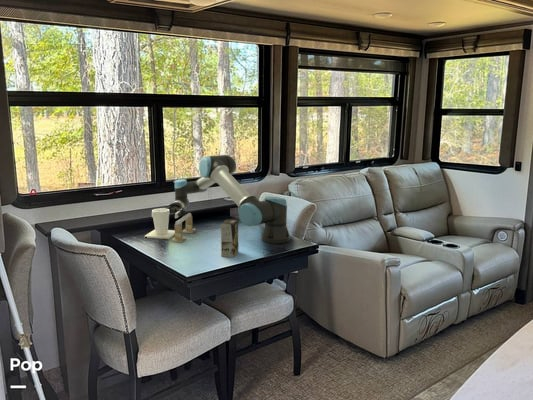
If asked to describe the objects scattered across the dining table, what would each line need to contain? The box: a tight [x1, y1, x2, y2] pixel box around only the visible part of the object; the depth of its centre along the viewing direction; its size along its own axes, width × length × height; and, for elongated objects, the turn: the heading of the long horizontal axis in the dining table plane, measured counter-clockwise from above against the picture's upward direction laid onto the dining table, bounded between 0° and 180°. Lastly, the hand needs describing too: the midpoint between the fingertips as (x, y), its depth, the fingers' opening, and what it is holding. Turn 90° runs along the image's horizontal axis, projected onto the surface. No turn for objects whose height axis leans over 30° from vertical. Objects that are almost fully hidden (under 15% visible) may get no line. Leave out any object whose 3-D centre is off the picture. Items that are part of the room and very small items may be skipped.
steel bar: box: [174, 212, 192, 225], centre depth 249 cm, size 22×2×2 cm, turn 172°
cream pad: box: [144, 228, 175, 240], centre depth 253 cm, size 14×14×1 cm
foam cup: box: [151, 207, 171, 235], centre depth 252 cm, size 10×9×13 cm
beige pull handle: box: [171, 215, 196, 243], centre depth 250 cm, size 23×6×9 cm, turn 172°
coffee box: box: [220, 219, 239, 258], centre depth 218 cm, size 9×6×16 cm
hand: (163, 215), depth 256 cm, fingers open, 13 cm apart
